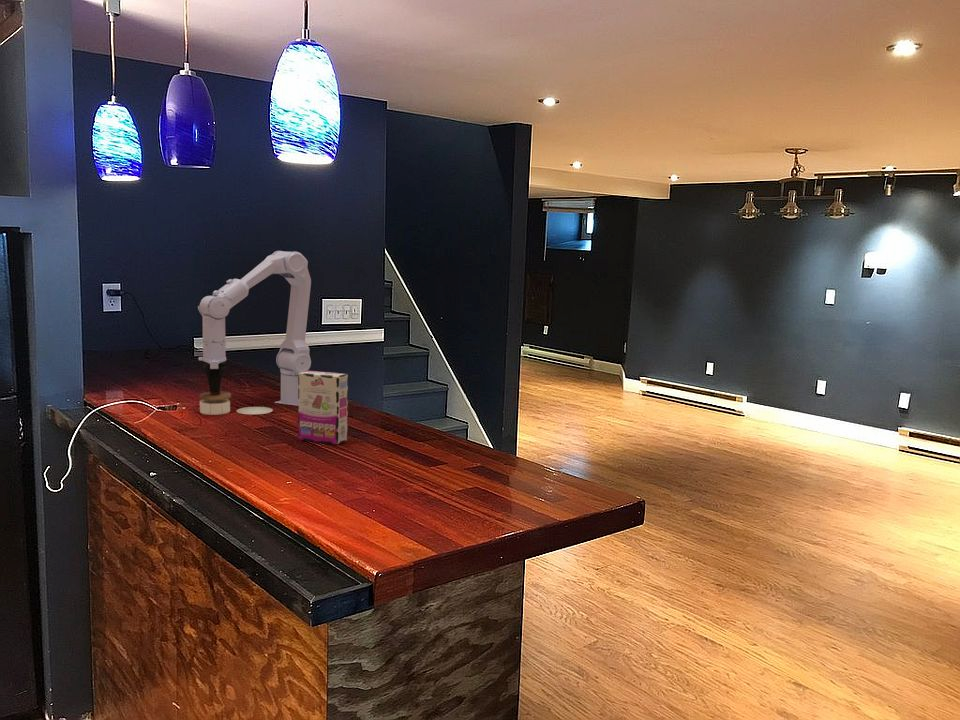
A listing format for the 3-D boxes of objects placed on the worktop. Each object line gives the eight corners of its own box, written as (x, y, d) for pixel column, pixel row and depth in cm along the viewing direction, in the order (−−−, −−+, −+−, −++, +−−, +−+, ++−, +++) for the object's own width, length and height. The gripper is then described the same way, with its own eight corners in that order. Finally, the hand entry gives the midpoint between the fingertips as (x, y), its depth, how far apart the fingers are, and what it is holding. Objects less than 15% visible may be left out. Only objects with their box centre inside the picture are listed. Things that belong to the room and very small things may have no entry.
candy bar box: (348, 440, 187) (349, 373, 185) (337, 445, 183) (338, 376, 180) (308, 435, 191) (308, 369, 189) (296, 439, 187) (297, 372, 184)
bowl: (235, 412, 212) (235, 400, 212) (217, 417, 205) (216, 405, 205) (213, 409, 215) (212, 397, 214) (194, 414, 208) (194, 402, 207)
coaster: (279, 411, 216) (279, 409, 216) (258, 417, 207) (258, 415, 207) (251, 407, 219) (251, 405, 219) (228, 413, 211) (228, 411, 210)
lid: (237, 395, 212) (236, 377, 211) (217, 401, 204) (217, 381, 204) (213, 393, 215) (212, 374, 214) (193, 398, 207) (192, 379, 206)
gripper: (198, 337, 213) (199, 386, 215) (197, 344, 199) (198, 396, 201) (226, 337, 215) (226, 386, 217) (226, 344, 201) (226, 396, 203)
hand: (214, 391), depth 209 cm, fingers closed on lid, 2 cm apart
